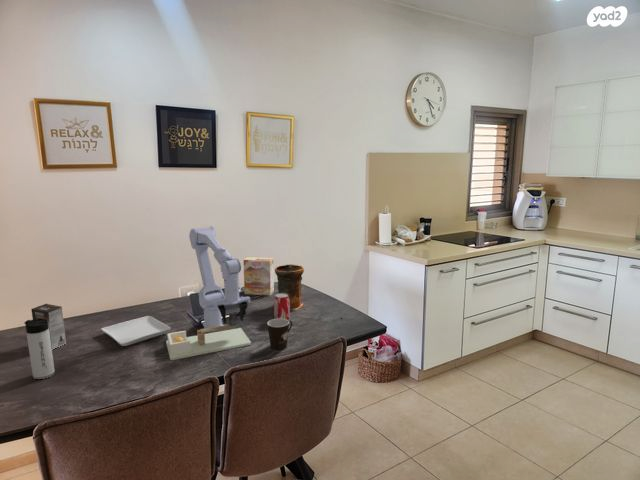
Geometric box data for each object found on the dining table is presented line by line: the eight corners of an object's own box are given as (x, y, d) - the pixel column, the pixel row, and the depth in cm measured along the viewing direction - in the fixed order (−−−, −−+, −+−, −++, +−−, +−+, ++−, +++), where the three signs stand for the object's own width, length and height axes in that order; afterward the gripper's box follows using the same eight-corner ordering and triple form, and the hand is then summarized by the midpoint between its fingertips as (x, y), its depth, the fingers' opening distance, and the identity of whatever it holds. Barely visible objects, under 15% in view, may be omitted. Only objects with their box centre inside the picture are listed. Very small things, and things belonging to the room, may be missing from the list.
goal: (168, 343, 165) (167, 333, 164) (186, 339, 168) (185, 330, 167) (171, 354, 155) (170, 344, 154) (190, 351, 158) (189, 341, 157)
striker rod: (197, 340, 167) (196, 317, 165) (235, 333, 173) (235, 311, 171) (199, 345, 162) (198, 321, 160) (238, 338, 169) (238, 315, 167)
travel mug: (38, 371, 145) (30, 317, 141) (58, 370, 146) (51, 316, 142) (28, 380, 139) (19, 324, 135) (48, 380, 139) (40, 324, 136)
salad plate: (172, 334, 176) (172, 327, 175) (121, 351, 161) (120, 343, 160) (149, 321, 190) (149, 314, 189) (100, 336, 175) (99, 328, 174)
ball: (175, 346, 163) (171, 338, 162) (185, 342, 164) (181, 333, 163) (176, 350, 159) (172, 342, 158) (186, 346, 161) (182, 337, 159)
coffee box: (35, 347, 163) (29, 308, 160) (50, 340, 169) (45, 303, 166) (52, 350, 160) (47, 311, 157) (67, 343, 166) (62, 305, 163)
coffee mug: (272, 353, 158) (271, 328, 156) (264, 344, 166) (264, 320, 164) (300, 346, 164) (299, 323, 162) (291, 338, 171) (291, 315, 169)
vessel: (304, 310, 202) (302, 271, 198) (275, 311, 202) (273, 271, 198) (305, 300, 216) (304, 263, 212) (278, 301, 216) (276, 264, 212)
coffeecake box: (244, 294, 227) (242, 259, 223) (248, 290, 234) (247, 256, 230) (270, 295, 224) (269, 260, 220) (274, 291, 231) (273, 257, 227)
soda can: (287, 323, 187) (286, 298, 184) (272, 322, 188) (271, 297, 186) (291, 317, 193) (291, 293, 191) (277, 316, 195) (276, 292, 192)
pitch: (166, 343, 167) (166, 340, 167) (240, 329, 180) (240, 327, 180) (170, 360, 153) (170, 357, 153) (251, 344, 166) (251, 342, 165)
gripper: (215, 294, 160) (217, 327, 162) (252, 289, 166) (253, 321, 169) (211, 289, 166) (213, 321, 169) (247, 284, 172) (248, 315, 175)
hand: (233, 321), depth 169 cm, fingers open, 6 cm apart
